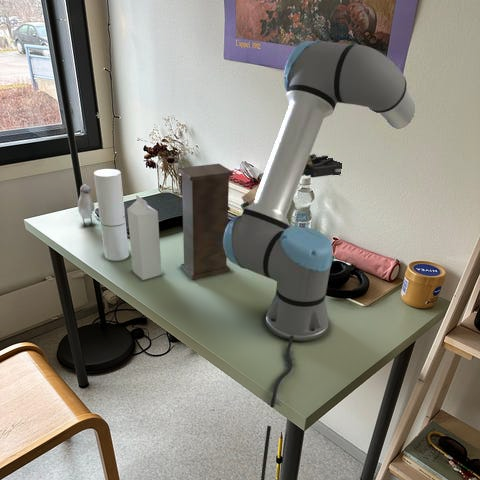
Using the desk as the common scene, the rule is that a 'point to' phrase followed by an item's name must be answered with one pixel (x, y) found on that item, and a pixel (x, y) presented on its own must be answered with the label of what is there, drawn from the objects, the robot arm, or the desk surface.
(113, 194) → the cylindrical container
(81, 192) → the bird
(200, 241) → the wooden pedestal column
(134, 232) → the milk
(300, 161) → the robot arm
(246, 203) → the wooden plank
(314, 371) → the desk surface
